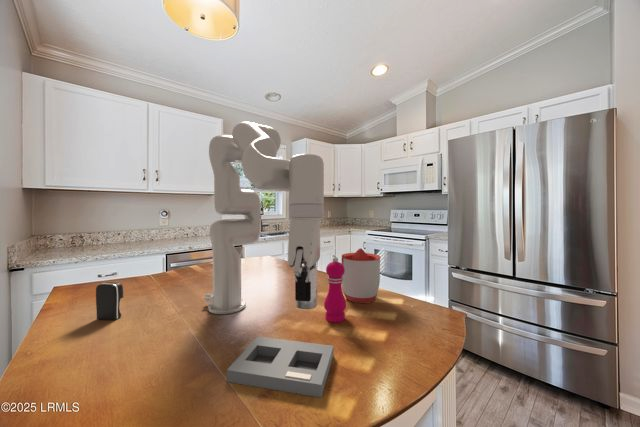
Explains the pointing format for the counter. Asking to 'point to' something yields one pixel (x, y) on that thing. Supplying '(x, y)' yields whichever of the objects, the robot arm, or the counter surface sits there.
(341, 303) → the pepper mill
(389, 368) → the counter surface
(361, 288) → the citrus juicer
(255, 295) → the counter surface
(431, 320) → the counter surface
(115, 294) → the battery charger
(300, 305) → the bushing
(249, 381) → the block
